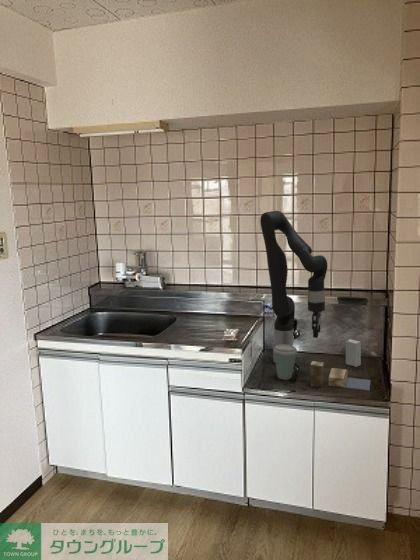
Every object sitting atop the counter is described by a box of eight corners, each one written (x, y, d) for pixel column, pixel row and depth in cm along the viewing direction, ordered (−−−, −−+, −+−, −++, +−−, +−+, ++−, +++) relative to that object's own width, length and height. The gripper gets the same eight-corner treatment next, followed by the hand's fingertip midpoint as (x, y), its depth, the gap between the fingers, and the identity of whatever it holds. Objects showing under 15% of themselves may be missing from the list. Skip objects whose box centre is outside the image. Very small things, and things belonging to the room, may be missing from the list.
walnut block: (310, 385, 203) (310, 364, 201) (311, 382, 207) (312, 361, 205) (321, 387, 201) (322, 365, 199) (323, 383, 205) (323, 362, 203)
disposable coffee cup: (275, 371, 219) (275, 341, 217) (298, 373, 216) (298, 343, 213) (271, 380, 210) (271, 349, 207) (295, 382, 206) (295, 351, 203)
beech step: (328, 385, 202) (328, 376, 202) (331, 376, 212) (331, 367, 212) (345, 387, 200) (345, 378, 199) (347, 378, 210) (347, 369, 209)
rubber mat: (345, 387, 200) (345, 387, 200) (347, 378, 210) (347, 377, 210) (369, 390, 196) (369, 390, 196) (370, 380, 206) (370, 380, 206)
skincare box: (361, 365, 225) (361, 341, 222) (355, 367, 222) (356, 343, 219) (350, 361, 229) (350, 338, 227) (344, 364, 226) (345, 340, 224)
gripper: (309, 296, 215) (310, 330, 218) (305, 303, 202) (306, 339, 205) (326, 296, 213) (326, 330, 215) (323, 303, 199) (323, 339, 202)
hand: (316, 334), depth 210 cm, fingers open, 8 cm apart
